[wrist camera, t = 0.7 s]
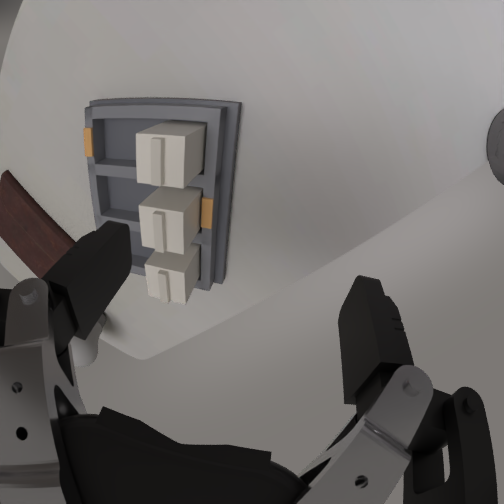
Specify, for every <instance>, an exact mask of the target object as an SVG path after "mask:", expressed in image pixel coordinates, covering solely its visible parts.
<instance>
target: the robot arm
mask: <svg viewBox="0 0 504 504" xmlns="http://www.w3.org/2000/svg"><path fill="white" fill-rule="evenodd" d="M487 152H488V160H489V164H490V167H491V169H492V172H493V174H494V175H495V177H496V178H497V180H498V181H500V182H501V183H502V184H503V185H504V110H502V111H501V112H500V113H499V114H498V115H497V116H496V117H495V119H494V121H493V123H492V125H491V128H490V131H489V135H488V141H487ZM131 267H132V252H131V240H130V228H129V226H128V224H125V223H120V222H116V221H111V220H108V221H106V222H105V223H104V224H103V225H102V226H101V227H100V228H99V229H98V230H96V231H92V232H90V233H88V234H87V235H85V236H83V237H81V238H80V239H79V240H78V241H77V242H76V243H75V244H74V245H73V247H71V248H70V249H69V250H68V251H67V252H66V254H64V255H63V256H62V257H61V258H60V259H59V260H58V261H57V262H56V263H55V264H54V265H53V266H52V267H51V268H50V269H49V271H48V272H47V273H46V274H45V275H44V276H43V277H42V278H41V279H39V278H29V279H25V280H23V281H21V282H19V283H18V284H17V285H16V286H15V287H14V288H13V289H0V504H384V503H385V501H386V500H387V498H388V497H389V495H390V494H391V492H392V491H393V489H394V487H395V486H396V484H397V483H398V481H399V479H400V478H401V476H402V475H403V473H404V493H403V504H498V498H497V482H496V472H495V463H494V455H493V449H492V443H491V437H490V431H489V426H488V422H487V417H486V412H485V408H484V404H483V401H482V399H481V397H480V396H479V394H478V393H477V392H476V391H475V390H473V389H472V388H469V387H461V388H459V389H458V390H457V391H456V392H455V393H454V394H452V395H450V394H447V393H444V392H442V391H439V390H436V389H434V388H433V385H432V383H431V380H430V378H429V377H428V375H427V374H426V373H425V372H424V371H423V370H421V369H420V368H418V367H416V366H414V363H413V358H412V355H411V351H410V347H409V344H408V340H407V337H406V333H405V332H404V326H403V323H402V322H401V317H400V314H399V310H398V308H397V306H396V305H395V303H394V302H393V301H392V300H391V298H390V297H389V296H385V295H384V291H383V288H382V285H381V282H380V280H379V279H374V278H370V277H365V276H360V275H359V276H357V277H356V279H355V281H354V283H353V285H352V287H351V289H350V291H349V293H348V295H347V297H346V299H345V301H344V303H343V305H342V308H341V310H340V314H339V319H338V327H339V337H340V348H341V359H342V373H343V388H344V404H353V405H356V410H357V412H356V413H355V414H354V415H353V416H352V417H351V418H350V420H349V421H348V422H347V423H346V425H345V426H344V427H343V428H342V430H341V431H340V432H339V433H338V434H337V436H336V437H335V438H334V439H333V441H332V442H331V443H330V444H329V445H328V446H327V447H326V449H325V450H324V451H323V452H322V453H321V454H320V455H319V456H318V457H317V458H316V459H315V460H313V461H312V462H311V463H310V464H309V465H308V466H307V467H306V468H305V469H304V470H303V471H302V472H301V473H300V474H299V475H298V476H297V475H295V474H294V473H293V472H291V471H290V470H288V469H287V468H285V467H283V466H281V465H279V464H277V463H275V462H273V461H270V460H271V452H268V451H262V450H255V449H249V448H243V447H237V446H232V445H188V444H180V443H177V442H175V441H173V440H171V439H170V438H168V437H167V436H165V435H163V434H161V433H160V432H158V431H156V430H155V429H153V428H151V427H150V426H148V425H147V424H145V423H143V422H142V421H140V420H137V419H134V418H132V417H129V416H126V415H124V414H121V413H118V412H116V411H114V410H111V409H109V408H106V407H102V410H101V412H100V414H99V415H97V414H87V412H86V409H85V406H84V404H83V402H82V399H81V397H80V394H79V390H78V385H77V379H76V374H75V368H74V361H73V354H72V347H71V344H70V341H71V339H72V338H73V336H75V337H77V338H80V339H82V340H86V339H87V337H88V335H89V334H90V332H91V331H92V329H93V327H94V326H95V324H96V323H97V321H98V320H99V318H100V317H101V315H102V314H103V312H104V311H105V309H106V307H107V306H108V305H109V303H110V302H111V300H112V299H113V297H114V296H115V294H116V293H117V291H118V290H119V288H120V287H121V285H122V284H123V283H124V281H125V280H126V278H127V277H128V275H129V273H130V270H131ZM447 445H448V451H449V462H450V475H449V478H448V480H447V481H446V482H445V479H444V464H443V452H442V448H444V447H445V446H447Z"/></svg>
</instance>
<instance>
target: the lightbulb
mask: <svg viewBox="0 0 504 504" xmlns="http://www.w3.org/2000/svg"><path fill="white" fill-rule="evenodd" d="M105 322H106V318H105V316H104V314H102V315H101V317H100V318H99V320H98V321H97V323H96V324H95V326H94V327H93V329H92V331H91V332H90V334H89V335H88V337H87V339H86V340H82V339H80V338H77V337H75V336H73V338H72V339H71V341H70V344H71V347H72V354H73V361H74V366H78V367H86V366H89V365H90V364H92V363H93V362H94V361H95V359H96V357H97V353H98V339H99V336H100V334H101V332H102V328H103V326H104V324H105Z"/></svg>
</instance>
